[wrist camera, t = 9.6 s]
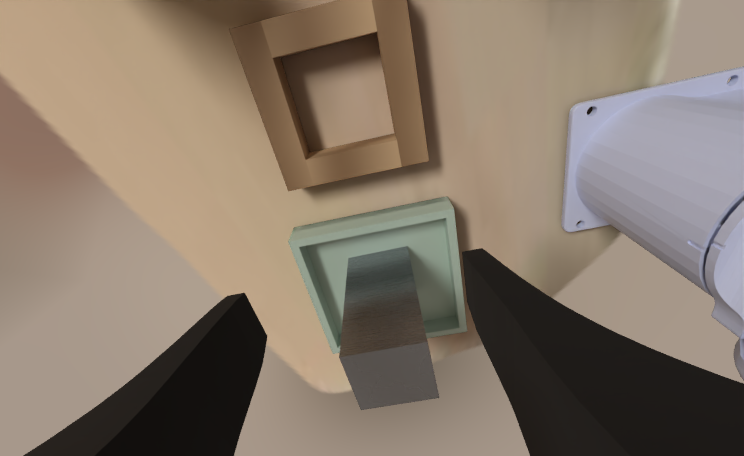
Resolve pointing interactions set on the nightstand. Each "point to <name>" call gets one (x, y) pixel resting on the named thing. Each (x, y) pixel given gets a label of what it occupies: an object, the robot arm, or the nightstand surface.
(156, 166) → the nightstand surface
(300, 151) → the oak holder
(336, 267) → the sage tray
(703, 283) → the robot arm
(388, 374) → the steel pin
